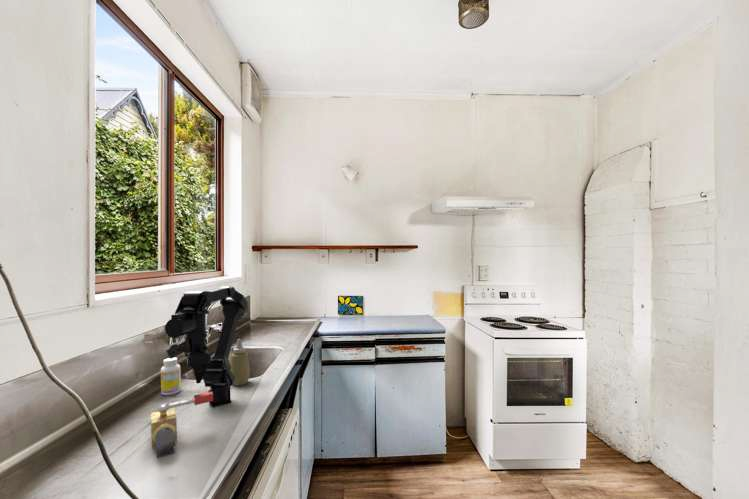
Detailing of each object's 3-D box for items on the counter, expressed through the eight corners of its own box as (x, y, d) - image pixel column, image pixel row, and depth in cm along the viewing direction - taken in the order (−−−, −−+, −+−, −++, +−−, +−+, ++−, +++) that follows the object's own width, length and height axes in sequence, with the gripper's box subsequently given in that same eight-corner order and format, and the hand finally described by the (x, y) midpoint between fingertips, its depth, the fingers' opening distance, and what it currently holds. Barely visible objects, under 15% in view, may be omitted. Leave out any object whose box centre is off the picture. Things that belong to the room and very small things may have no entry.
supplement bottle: (166, 389, 137) (165, 357, 137) (184, 388, 138) (183, 356, 138) (157, 396, 131) (156, 362, 131) (175, 395, 131) (175, 361, 131)
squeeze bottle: (230, 388, 136) (229, 342, 136) (228, 382, 143) (227, 338, 144) (251, 384, 140) (250, 340, 140) (249, 378, 147) (248, 336, 147)
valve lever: (211, 398, 108) (211, 391, 108) (213, 401, 106) (213, 394, 106) (157, 410, 100) (156, 403, 100) (157, 414, 98) (157, 406, 98)
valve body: (173, 421, 110) (172, 395, 110) (179, 453, 92) (178, 422, 92) (150, 426, 107) (150, 400, 107) (152, 461, 89) (151, 429, 89)
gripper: (166, 328, 115) (167, 376, 115) (167, 340, 99) (169, 394, 99) (203, 324, 121) (204, 369, 121) (210, 334, 105) (211, 385, 105)
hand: (197, 379), depth 111 cm, fingers open, 8 cm apart
